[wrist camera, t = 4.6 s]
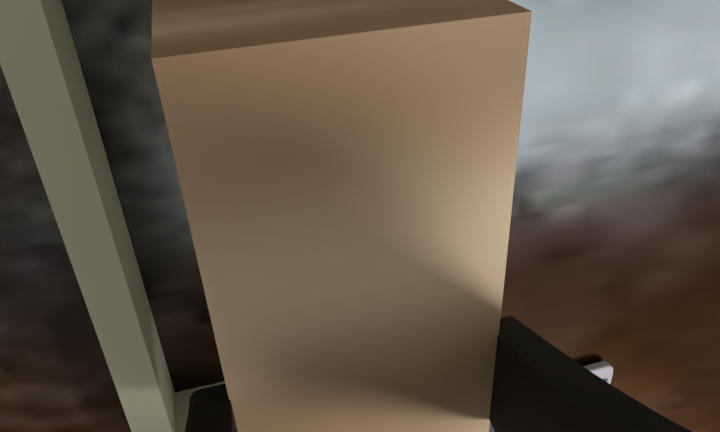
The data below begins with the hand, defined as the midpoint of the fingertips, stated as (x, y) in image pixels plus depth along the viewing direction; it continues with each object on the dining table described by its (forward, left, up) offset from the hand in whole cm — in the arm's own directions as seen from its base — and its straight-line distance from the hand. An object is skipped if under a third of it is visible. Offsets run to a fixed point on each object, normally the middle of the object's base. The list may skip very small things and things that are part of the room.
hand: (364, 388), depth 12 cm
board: (0, 0, -3) cm, 3 cm away
